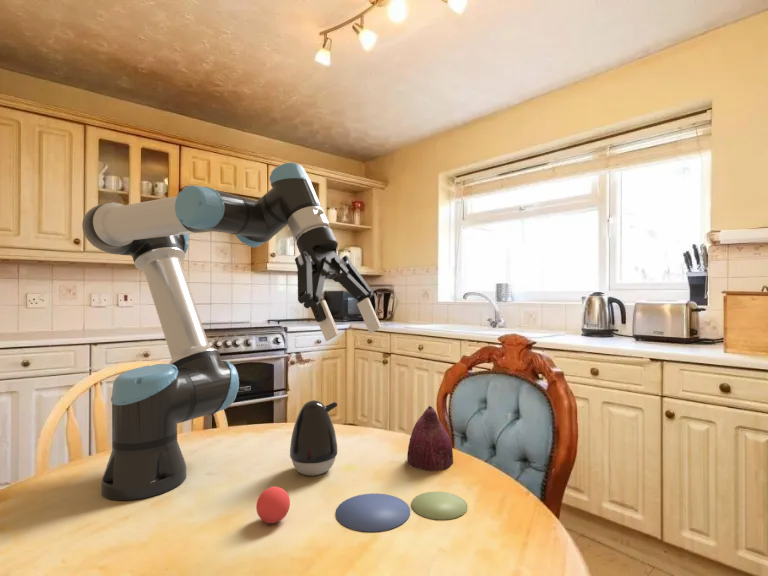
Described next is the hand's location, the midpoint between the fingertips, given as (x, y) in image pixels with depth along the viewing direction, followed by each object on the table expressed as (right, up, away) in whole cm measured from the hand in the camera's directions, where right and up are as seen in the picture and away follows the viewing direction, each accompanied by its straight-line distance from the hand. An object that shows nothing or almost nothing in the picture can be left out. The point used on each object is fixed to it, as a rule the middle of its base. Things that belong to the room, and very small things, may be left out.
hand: (355, 333), depth 79 cm
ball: (-13, -28, -7) cm, 32 cm away
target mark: (+3, -31, -4) cm, 31 cm away
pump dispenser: (-10, -31, +14) cm, 36 cm away
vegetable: (+16, -31, +19) cm, 40 cm away
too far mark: (+15, -31, -2) cm, 34 cm away
